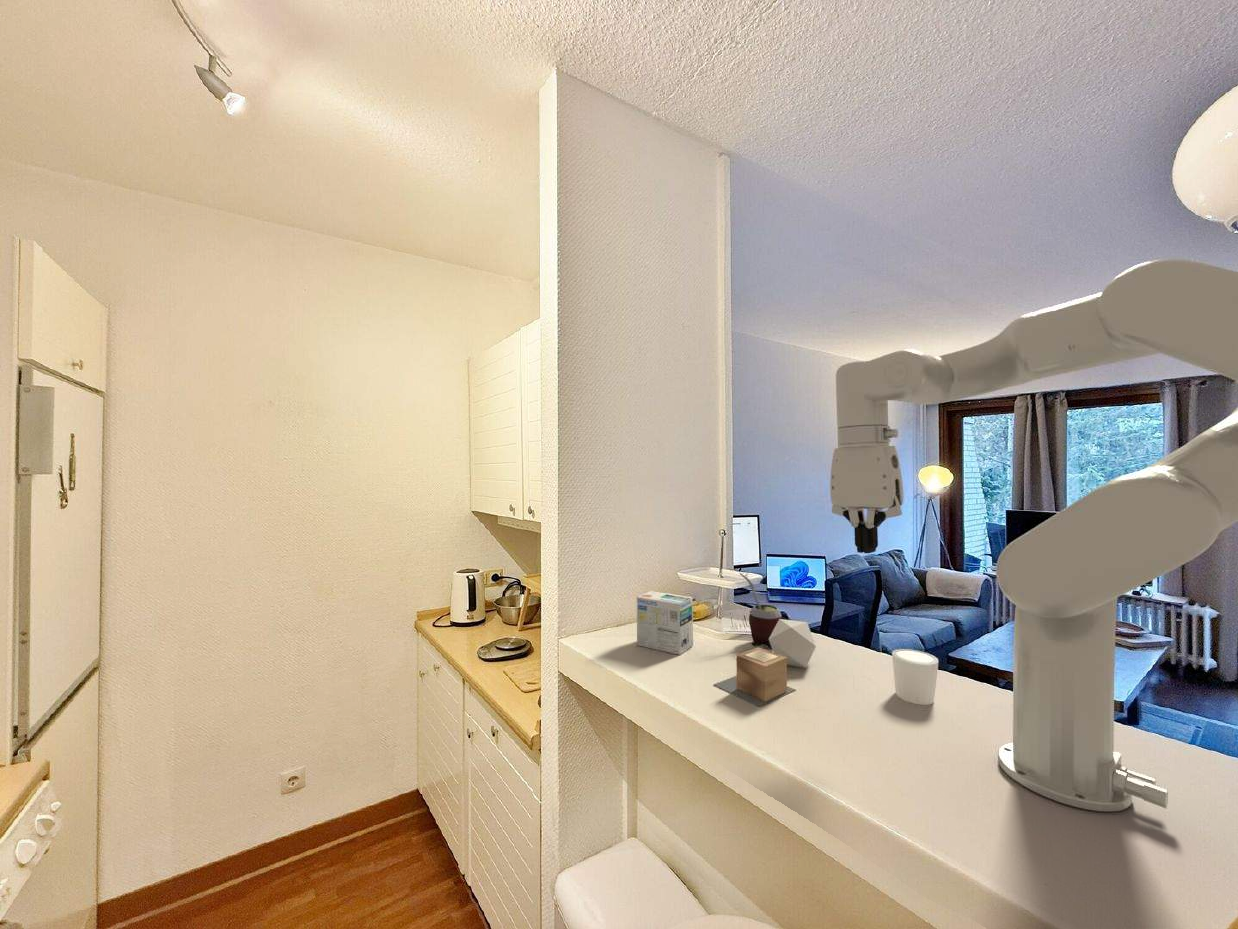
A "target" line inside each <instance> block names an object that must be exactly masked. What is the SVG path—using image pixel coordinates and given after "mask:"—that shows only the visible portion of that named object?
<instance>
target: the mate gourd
mask: <svg viewBox="0 0 1238 929" xmlns="http://www.w3.org/2000/svg"><path fill="white" fill-rule="evenodd" d="M739 575H740V576H741V577H742V578H744V580H746V581H747V582H748V584H749V587H750V589H751V591H752V594H753V597H754V600H755V603H756V605H753V607H752V608H751V609H750V611H749V615H748V624H749V628H750V633H751V637H752V642H751V645H752V646H753V647H756V646H757V647H759V646H766V647H767V648H769V649H770V650H772V647H771V644H770V642H769V637H770V636H771V634H772V632H773V630H774V628H775V626H776V624H777V623H778V621H779V619H783V616H782V612H781V611H780V609H779V608H778V607H777V606H775V605H772V604H765V603H764V604H763V603H762V604H760V601H759V599H758V595H757V593H756V589H755V585H754V583H753V582H752V581H751V579H749V578H748V577H746V576H745V575H744V574H743V573H741V572H739Z"/></svg>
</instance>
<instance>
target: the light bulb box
mask: <svg viewBox="0 0 1238 929" xmlns="http://www.w3.org/2000/svg"><path fill="white" fill-rule="evenodd" d="M693 600H694V598H693V596H688V595H681V594H679V595H678V594H672V593H666V592H660V591H653V590H650V591H647V592H645V593H643V594H640V595H638V596H637V597H636V646H639V647H643V648H649V649H651V650H655V651H656V650H657V651H662V652H665V653H671V654H674V655H675V654H676V655H678V656H681V655H682V654H684V653H685V652H686V651H687V650H689V649H690V648H692V647H693V646H694V611H693V610H694V609H693V607H694V605H693V604H694V603H693Z"/></svg>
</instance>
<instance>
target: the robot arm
mask: <svg viewBox="0 0 1238 929" xmlns="http://www.w3.org/2000/svg"><path fill="white" fill-rule="evenodd" d="M1158 354H1162V355H1165V356H1167V357H1170V358H1173V359H1176V360H1178V361H1181V362H1184V363H1187V364H1188V365H1189V364H1190V365H1192V366H1195V367H1198V368H1201V369H1203V370H1207V371H1209V372H1212V373H1215V374H1217V375H1221V376H1223V377H1226V378H1228V379H1231V380H1234V381H1235V382H1236V384H1237V385H1238V271H1235V270H1232V269H1227V268H1223V267H1220V266H1215V265H1212V264H1207V263H1202V262H1199V261H1195V260H1189V259H1179V258H1167V259H1165V258H1164V259H1156V260H1151V261H1146V262H1143V263H1140V264H1137V265H1134V266H1132V267H1130V268H1128V269H1127V270H1125V271H1122V273H1120V274H1119V275H1116V276H1115V277H1114V278H1113V279H1112V280H1111V281H1110V282H1109V283H1108V284H1106V287H1105V288H1104V289H1103V291H1102V292H1099V293H1096V294H1093V295H1089V296H1086V297H1083V298H1079V299H1074V300H1072V301H1068V302H1066V303H1062V304H1058V305H1055V306H1052V307H1047V308H1044V309H1040V310H1038V311H1035V312H1030V313H1027V314H1023V315H1021V316H1018V317H1017V318H1015V319H1014V320H1013V321H1011V322H1010V323H1009V324H1008V325H1007V326H1006V327H1005V328H1004V329H1003V330H1002V331H1001V332H1000V333H999V334H997V335H996V336H995V337H992V338H990V339H988V340H986V341H984V342H982V343H980V344H977V345H973V346H971V347H967V348H964V349H960V350H958V351H956V350H955V351H953V352H949V353H946V354H945V353H944V354H941V355H937V356H934V355H932V354H931V355H930V354H927V353H925V352H921V351H918V350H915V349H901V350H896V351H893V352H891V353H887V354H884V355H882V356H880V357H876V358H873V359H871V360H859V361H857V360H856V361H852V362H847V363H844V364H843V365H840V366H839V367H838V368H837V371H836V372H835V395H836V397H835V399H836V424H837V425H836V426H837V427H836V428H837V429H836V430H837V447H836V448H834V449H833V454H832V459H831V467H830V480H829V481H830V482H829V494H830V495H829V496H830V502H831V504H832V508H831V513H832V514H835V515H838V516H841V517H844V518H845V519H846V520H847V521H848V522H849V523H850V526H851V527H852V528H854V531H853V532H854V545H855V547H856V551H857V553H861V554H862V553H864V554H871V553H875V552H876V551H877V548H878V546H879V538H878V537H879V536H878V535H879V533H878V531H879V530H878V528H879V527H881V524H883V522H885V520H887V519H890V518H896V517H899V516H902V514H903V511H902V507H901V506H902V505H903V504H904V499H905V498H904V486H903V478H902V471H901V464H900V461H899V455H898V450H897V449H896V445H890V443H891V439H894V438H896V439H897V438H898V436H899V431H898V429H897V428H891V425H889V401H894V402H895V401H897V402H902V403H911V404H912V403H913V404H916V405H920V406H921V405H924V406H926V405H927V406H928V405H929V406H930V405H937V404H941V403H942V404H943V403H947V402H951V401H958V400H962V399H966V398H971V397H977V396H981V395H985V394H989V393H992V392H993V393H994V392H996V391H1000V390H1003V389H1006V388H1012V387H1015V386H1019V385H1024V384H1027V383H1029V382H1033V381H1036V380H1040V379H1044V378H1049V377H1054V376H1058V375H1059V376H1060V375H1062V374H1067V373H1071V372H1077V371H1081V370H1086V369H1087V370H1088V369H1091V368H1096V367H1100V366H1106V365H1111V364H1116V363H1121V362H1124V361H1130V360H1135V359H1138V358H1144V357H1148V356H1153V355H1158ZM865 509H866V517H865V511H864V510H865ZM884 509H885V510H884ZM1235 523H1238V406H1237V407H1236V408H1235V409H1234V411H1233V412H1232V413H1231V414H1229V415H1228V416H1227V417H1226V418H1224V419H1223V420H1221V421H1219V422H1218V423H1216V424H1214V425H1213V426H1211V427H1210V428H1209V429H1206V430H1205V431H1203V432H1201V433H1200V434H1198V435H1197V436H1195V437H1194V438H1192V439H1191V440H1190V441H1188V442H1187V443H1186V444H1184V445H1183V446H1181V447H1179V448H1177V449H1176V450H1174V451H1172V452H1171V453H1169V454H1167V455H1166V456H1164V457H1163V458H1161V459H1159V460H1156V462H1154V463H1152V464H1150V465H1149V466H1147V467H1145V468H1143V469H1141V470H1139V471H1135V472H1130V473H1128V474H1124V475H1120V476H1118V477H1115V478H1113V479H1111V480H1109V481H1107V482H1106V483H1103V484H1102V485H1100V486H1098V487H1097V488H1095V489H1093V490H1092V491H1091V492H1089V493H1087V494H1085V495H1084V496H1082V497H1081V498H1080V499H1078V500H1076V501H1075V502H1073V503H1071V504H1069V505H1068V506H1067V507H1064V508H1063V509H1061V510H1060V511H1058V512H1057V513H1056V514H1054V515H1052V516H1050V517H1049V518H1048V519H1046V520H1044V521H1043V522H1041V523H1039V524H1038V525H1036V526H1035V527H1034V528H1031V529H1030V530H1028V531H1027V532H1025V533H1024V534H1022V535H1020V536H1019V537H1017V538H1016V539H1014V540H1013V541H1011V542H1009V543H1008V544H1007V545H1006V546H1005V547H1004V549H1003V550H1002V551H1001V552H1000V555H999V556H998V558H997V562H996V565H995V576H996V581H997V584H998V586H999V589H1000V590H1001V592H1002V594H1003V595H1004V596H1005V597H1006V599H1008V601H1010V602H1011V603H1012V604H1014V606H1015V608H1014V620H1013V621H1014V623H1013V624H1014V625H1013V658H1012V659H1013V662H1012V664H1013V665H1012V666H1013V677H1012V678H1013V680H1012V682H1013V684H1012V688H1013V689H1012V692H1013V693H1012V698H1013V699H1012V700H1013V701H1012V703H1013V704H1012V742H1011V743H1007V744H1004V745H1002V746H1001V747H1000V748H999V749H998V752H997V759H998V762H997V763H998V764H999V766H1000V768H1002V770H1003V771H1004V772H1005V773H1006V775H1008V776H1009V777H1010V778H1011V779H1013V780H1014V781H1016V782H1017V783H1018V784H1020V785H1021V786H1023V787H1025V788H1026V789H1028V790H1031V791H1032V792H1034V793H1036V794H1038V795H1040V796H1043V797H1044V798H1047V799H1050V800H1053V801H1055V802H1058V803H1060V804H1064V805H1066V806H1071V807H1074V808H1078V809H1082V810H1087V811H1094V812H1107V813H1108V812H1109V813H1111V812H1119V811H1123V810H1127V808H1129V807H1130V806H1131V804H1132V802H1133V797H1136V798H1139V799H1142V800H1143V802H1147V803H1150V804H1153V805H1155V806H1158V807H1159V808H1163V809H1167V808H1168V803H1169V792H1168V789H1165V788H1162V787H1159V786H1156V784H1157V779H1156V778H1154V777H1151V776H1148V775H1145V774H1142V773H1138V772H1136V771H1132V770H1129V769H1128V767H1127V766H1125V765H1122V754H1121V753H1120V752H1118V751H1114V741H1115V740H1114V739H1115V738H1114V737H1115V735H1114V734H1115V733H1114V732H1115V728H1114V727H1115V721H1114V720H1115V666H1116V627H1117V626H1116V625H1117V624H1116V623H1117V610H1118V609H1117V606H1118V598H1119V597H1121V596H1123V595H1125V594H1127V593H1130V592H1132V591H1133V590H1135V589H1137V588H1139V587H1141V586H1143V585H1145V584H1148V583H1149V582H1151V581H1154V580H1156V579H1157V578H1160V577H1162V576H1164V575H1165V574H1167V573H1169V572H1172V571H1173V570H1176V569H1178V568H1179V567H1182V566H1183V565H1185V564H1187V563H1188V562H1191V561H1193V560H1194V559H1195V558H1197V557H1199V556H1200V555H1202V554H1203V553H1204V552H1206V551H1207V550H1208V549H1209V548H1211V546H1212V545H1213V544H1214V543H1215V541H1216V539H1217V538H1218V536H1219V535H1220V533H1221V532H1222V531H1224V530H1226V529H1227V528H1228V527H1230V526H1232V525H1234V524H1235Z"/></svg>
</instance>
